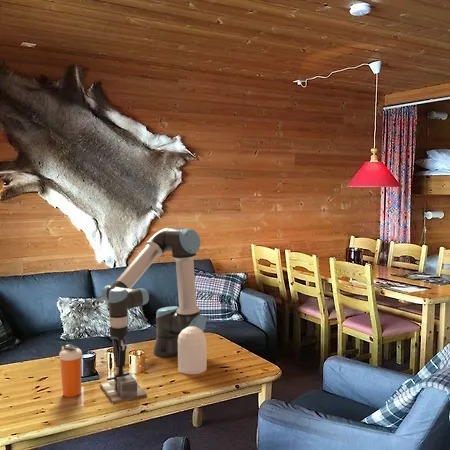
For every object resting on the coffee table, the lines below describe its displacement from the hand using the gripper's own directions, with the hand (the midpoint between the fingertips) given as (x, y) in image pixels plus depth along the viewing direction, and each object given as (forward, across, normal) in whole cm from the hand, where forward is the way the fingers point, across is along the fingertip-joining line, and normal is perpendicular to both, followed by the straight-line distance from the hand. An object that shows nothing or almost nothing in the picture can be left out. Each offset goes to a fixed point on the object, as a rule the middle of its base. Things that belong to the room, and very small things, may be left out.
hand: (119, 380), depth 213 cm
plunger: (+2, +7, -1) cm, 7 cm away
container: (+4, -6, +36) cm, 37 cm away
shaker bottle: (+4, -5, -19) cm, 20 cm away
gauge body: (+4, +3, 0) cm, 5 cm away
